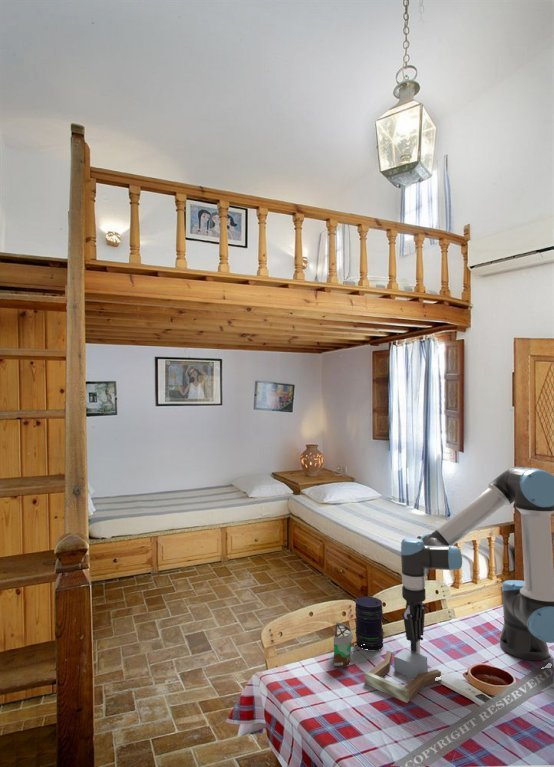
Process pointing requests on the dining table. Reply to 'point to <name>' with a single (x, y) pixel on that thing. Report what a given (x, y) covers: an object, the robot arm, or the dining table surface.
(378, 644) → the storage jar
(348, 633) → the food container
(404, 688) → the brown angular open frame
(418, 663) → the grey rectangular block
